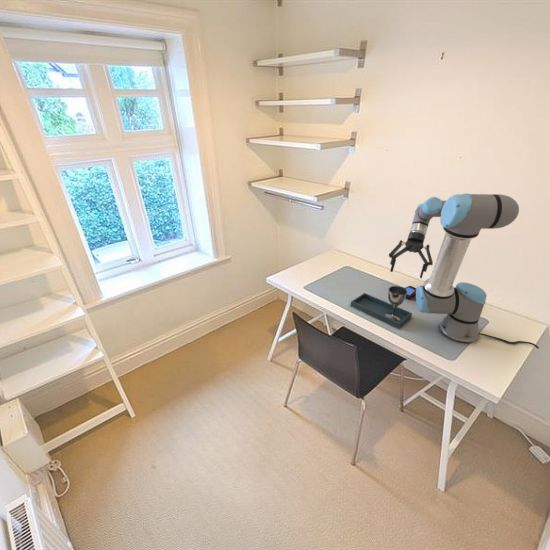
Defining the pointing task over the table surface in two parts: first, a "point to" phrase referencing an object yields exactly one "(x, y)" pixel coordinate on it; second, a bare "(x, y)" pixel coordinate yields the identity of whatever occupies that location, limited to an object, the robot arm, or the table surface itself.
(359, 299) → the tray
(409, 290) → the handheld game console
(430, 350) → the table surface
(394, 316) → the wine glass
